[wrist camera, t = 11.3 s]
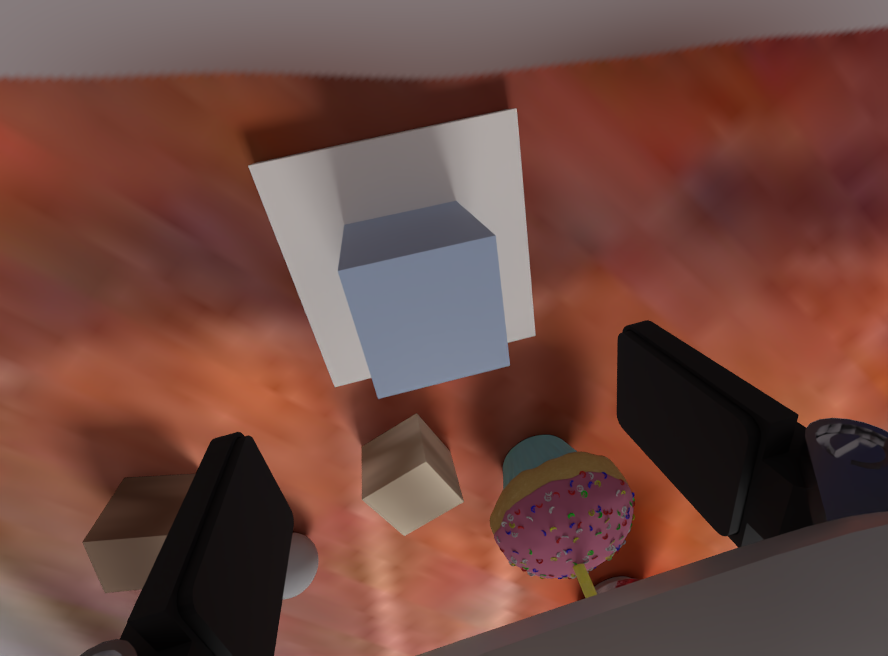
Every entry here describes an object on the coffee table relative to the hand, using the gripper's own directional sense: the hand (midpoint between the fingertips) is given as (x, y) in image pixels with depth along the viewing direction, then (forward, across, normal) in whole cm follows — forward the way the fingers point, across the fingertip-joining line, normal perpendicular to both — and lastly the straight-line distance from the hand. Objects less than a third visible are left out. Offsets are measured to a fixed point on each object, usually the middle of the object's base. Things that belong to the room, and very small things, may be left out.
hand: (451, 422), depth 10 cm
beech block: (+12, +2, +11) cm, 16 cm away
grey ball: (+12, +11, +16) cm, 23 cm away
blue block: (+10, 0, -1) cm, 10 cm away
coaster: (+11, -1, -1) cm, 11 cm away
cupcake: (+12, -6, +15) cm, 20 cm away
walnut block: (+12, +16, +10) cm, 23 cm away
